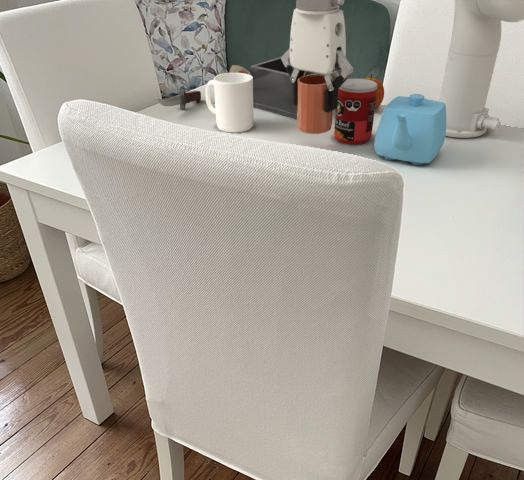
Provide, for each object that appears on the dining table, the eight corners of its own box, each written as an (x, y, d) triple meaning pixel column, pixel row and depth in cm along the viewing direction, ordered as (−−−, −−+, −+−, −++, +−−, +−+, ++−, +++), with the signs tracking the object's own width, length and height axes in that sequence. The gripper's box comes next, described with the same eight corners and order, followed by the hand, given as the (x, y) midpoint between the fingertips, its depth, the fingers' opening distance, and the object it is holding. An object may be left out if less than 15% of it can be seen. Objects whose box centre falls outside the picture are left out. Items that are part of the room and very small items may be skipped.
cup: (239, 135, 123) (237, 85, 116) (196, 125, 128) (192, 76, 121) (260, 124, 128) (260, 76, 121) (218, 114, 133) (216, 68, 127)
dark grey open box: (338, 105, 138) (341, 65, 132) (302, 120, 130) (304, 78, 124) (287, 92, 146) (288, 54, 140) (250, 106, 138) (250, 66, 132)
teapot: (359, 168, 109) (366, 106, 102) (389, 138, 121) (397, 80, 114) (423, 180, 105) (435, 117, 97) (447, 148, 117) (460, 89, 109)
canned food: (327, 135, 123) (330, 80, 115) (359, 130, 125) (364, 76, 118) (344, 147, 117) (349, 91, 110) (378, 141, 120) (385, 86, 112)
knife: (161, 122, 130) (159, 99, 126) (156, 121, 130) (154, 98, 127) (201, 101, 141) (200, 79, 138) (197, 100, 142) (195, 78, 138)
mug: (271, 98, 143) (253, 64, 135) (237, 116, 146) (218, 83, 138) (268, 82, 147) (250, 48, 140) (235, 99, 150) (216, 67, 143)
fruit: (353, 104, 138) (356, 69, 133) (382, 105, 138) (386, 70, 132) (352, 113, 133) (355, 77, 128) (382, 115, 132) (386, 78, 127)
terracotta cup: (338, 126, 114) (340, 78, 108) (317, 136, 110) (319, 87, 104) (311, 119, 117) (312, 72, 111) (290, 129, 114) (290, 81, 108)
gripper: (371, 2, 97) (362, 110, 109) (292, -7, 106) (292, 93, 118) (346, 10, 93) (340, 121, 104) (266, -1, 102) (268, 103, 113)
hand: (314, 105), depth 111 cm, fingers closed on terracotta cup, 6 cm apart
